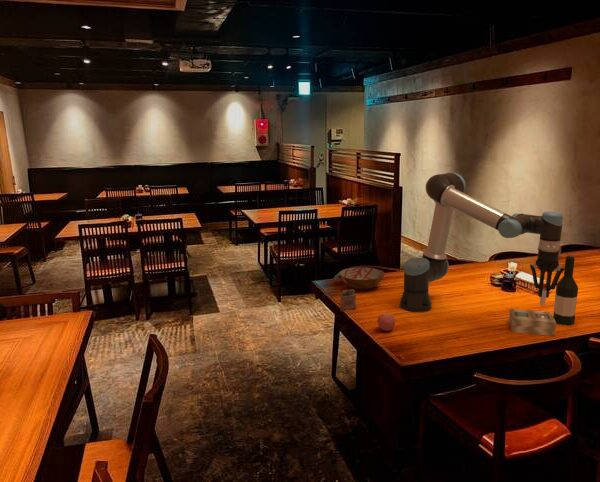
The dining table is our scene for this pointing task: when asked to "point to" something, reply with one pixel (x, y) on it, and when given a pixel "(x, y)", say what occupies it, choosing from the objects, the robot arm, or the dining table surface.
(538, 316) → the steel peg
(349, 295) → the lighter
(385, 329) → the apple
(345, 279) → the bowl
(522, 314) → the teal peg
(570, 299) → the wine bottle
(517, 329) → the socket block
